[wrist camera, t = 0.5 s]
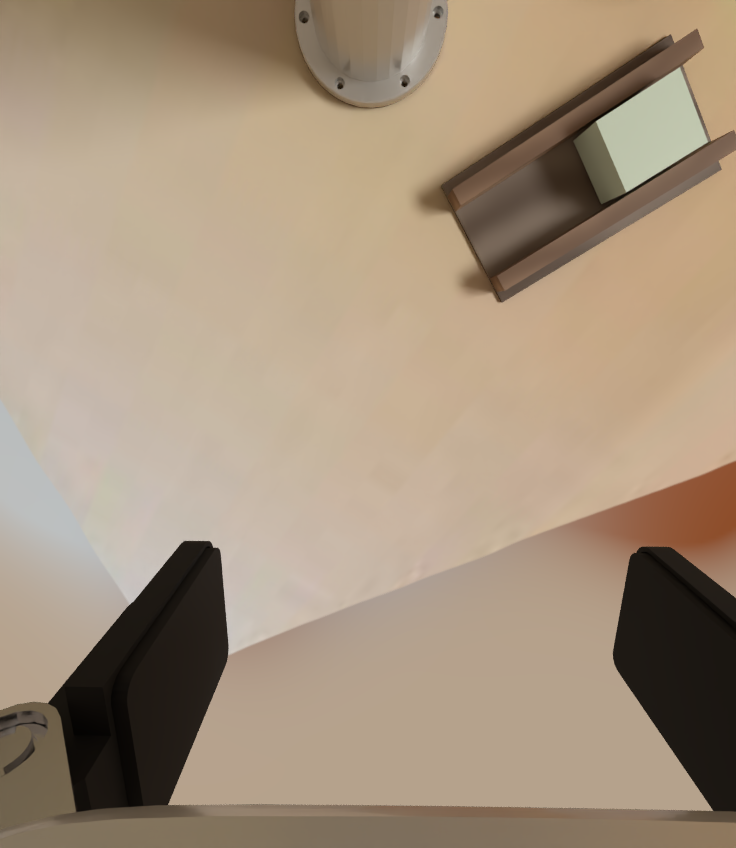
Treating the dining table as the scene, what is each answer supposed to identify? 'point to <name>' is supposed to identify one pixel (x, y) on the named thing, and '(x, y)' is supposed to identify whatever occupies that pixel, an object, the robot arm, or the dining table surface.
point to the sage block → (641, 137)
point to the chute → (569, 180)
